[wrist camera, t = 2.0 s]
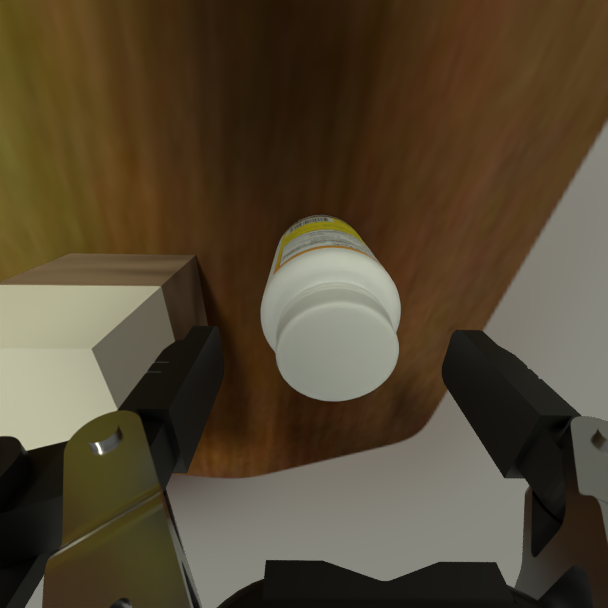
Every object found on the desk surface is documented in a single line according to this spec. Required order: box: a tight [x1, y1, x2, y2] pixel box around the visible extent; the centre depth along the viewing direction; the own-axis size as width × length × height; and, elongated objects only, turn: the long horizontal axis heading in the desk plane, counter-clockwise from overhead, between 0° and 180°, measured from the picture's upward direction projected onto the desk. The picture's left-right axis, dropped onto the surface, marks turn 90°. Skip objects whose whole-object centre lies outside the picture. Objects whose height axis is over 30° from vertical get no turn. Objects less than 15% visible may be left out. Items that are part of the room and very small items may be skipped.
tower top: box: [0, 285, 175, 451], centre depth 13 cm, size 8×8×5 cm
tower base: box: [0, 253, 208, 341], centre depth 17 cm, size 8×8×5 cm
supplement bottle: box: [261, 215, 401, 401], centre depth 13 cm, size 6×6×10 cm
